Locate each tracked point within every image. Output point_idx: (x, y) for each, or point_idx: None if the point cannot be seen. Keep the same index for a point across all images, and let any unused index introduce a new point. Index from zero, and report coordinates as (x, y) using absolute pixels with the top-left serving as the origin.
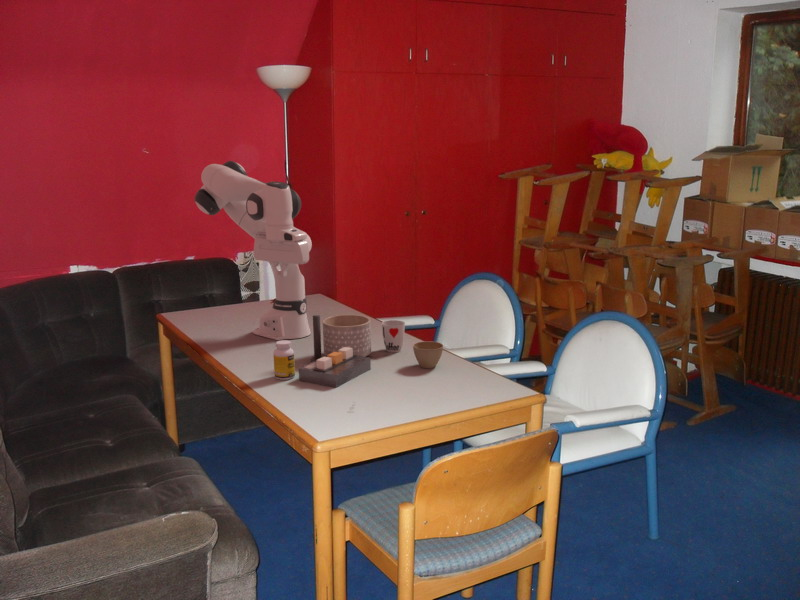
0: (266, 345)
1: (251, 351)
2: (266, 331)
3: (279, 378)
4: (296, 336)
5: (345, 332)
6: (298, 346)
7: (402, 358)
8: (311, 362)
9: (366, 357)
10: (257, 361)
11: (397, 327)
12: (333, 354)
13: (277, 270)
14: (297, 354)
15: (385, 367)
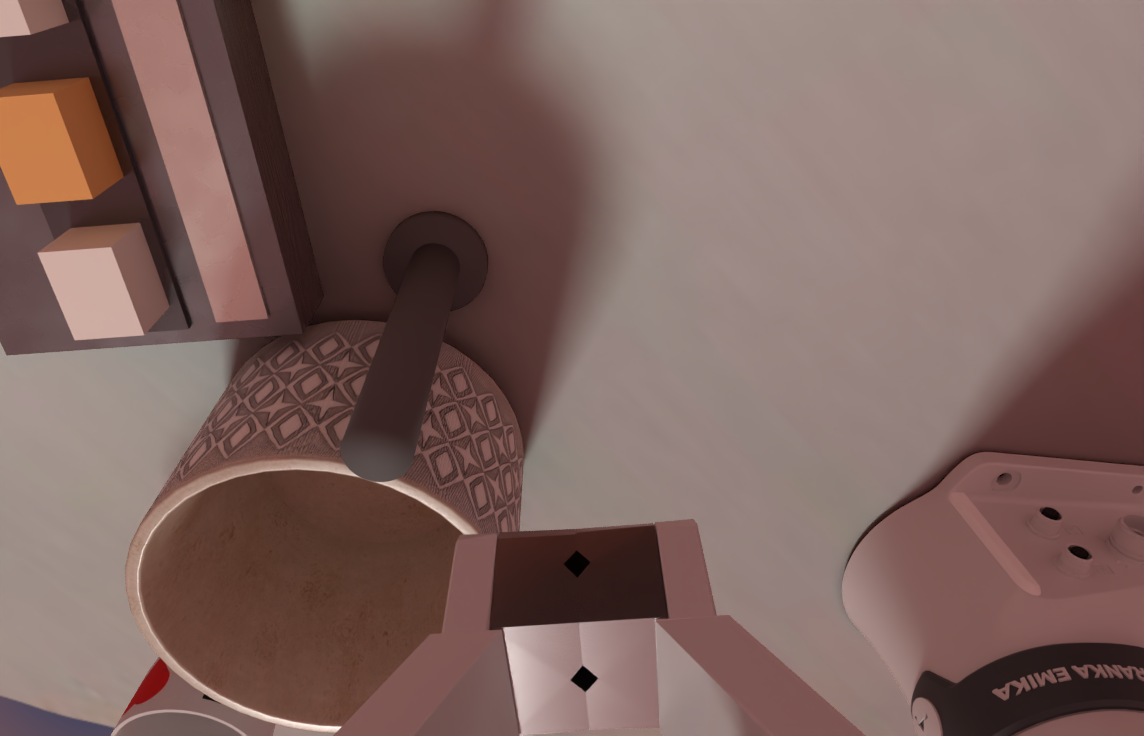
0: (989, 346)
1: (1018, 193)
2: (1121, 510)
3: None
4: (881, 535)
5: (195, 458)
6: (773, 429)
7: (93, 544)
8: (451, 216)
9: (28, 344)
10: (832, 30)
11: (118, 722)
12: (28, 131)
13: (671, 616)
14: (669, 307)
15: (20, 387)
